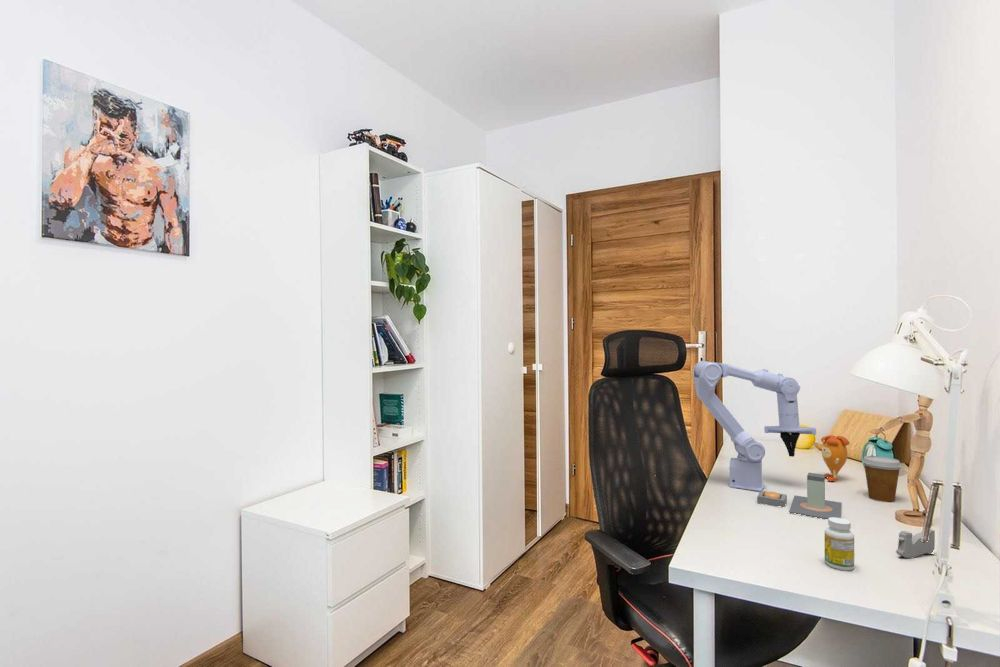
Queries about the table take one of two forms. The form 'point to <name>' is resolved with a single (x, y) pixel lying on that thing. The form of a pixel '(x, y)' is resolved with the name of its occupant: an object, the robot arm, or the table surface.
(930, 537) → the grey tape dispenser
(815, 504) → the grey and green block
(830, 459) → the toy figure
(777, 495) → the button
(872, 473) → the disposable coffee cup
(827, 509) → the drawing mat
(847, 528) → the supplement bottle
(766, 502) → the button housing
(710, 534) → the table surface
